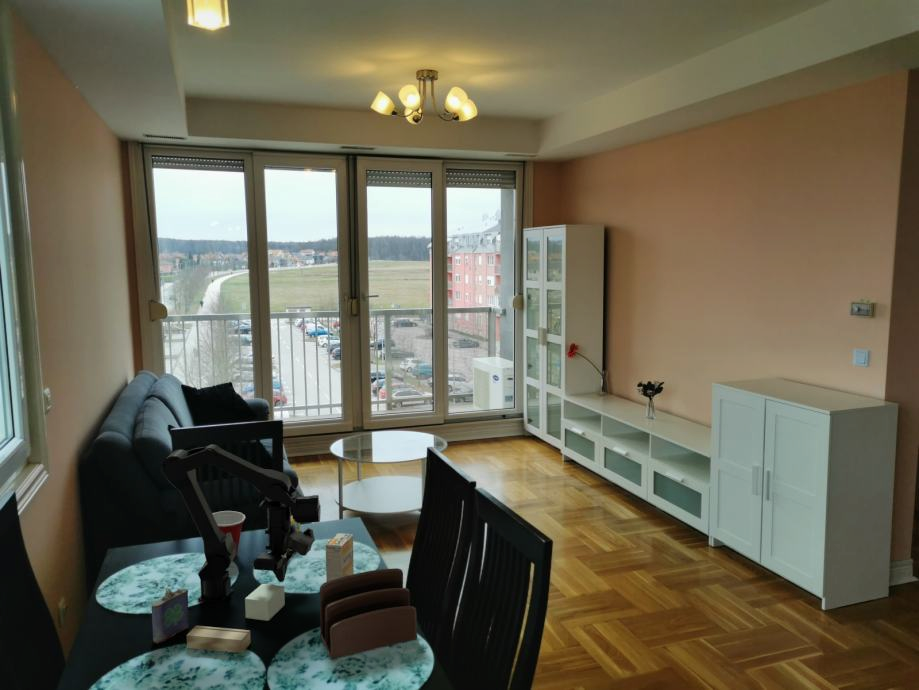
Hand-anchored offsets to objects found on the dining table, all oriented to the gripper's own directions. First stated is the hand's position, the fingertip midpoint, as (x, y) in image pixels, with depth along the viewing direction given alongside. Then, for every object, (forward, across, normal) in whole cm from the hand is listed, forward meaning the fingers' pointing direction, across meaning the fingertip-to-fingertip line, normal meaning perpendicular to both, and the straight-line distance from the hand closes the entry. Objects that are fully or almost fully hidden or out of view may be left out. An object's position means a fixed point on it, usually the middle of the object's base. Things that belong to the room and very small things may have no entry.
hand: (281, 581), depth 175 cm
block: (+3, -10, 0) cm, 10 cm away
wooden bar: (+3, -26, +4) cm, 26 cm away
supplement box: (+3, +6, -14) cm, 15 cm away
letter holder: (+3, -17, -29) cm, 34 cm away
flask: (+3, -22, +17) cm, 28 cm away
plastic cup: (+3, +19, +25) cm, 31 cm away
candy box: (+3, +26, +10) cm, 28 cm away
